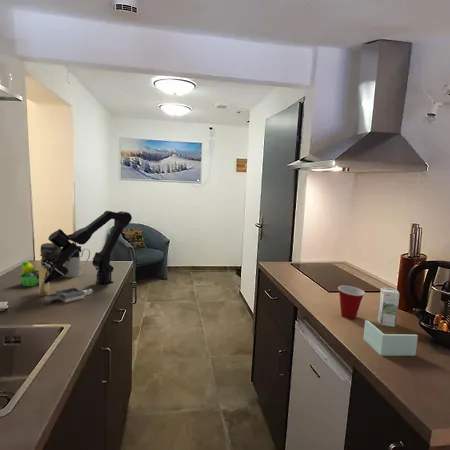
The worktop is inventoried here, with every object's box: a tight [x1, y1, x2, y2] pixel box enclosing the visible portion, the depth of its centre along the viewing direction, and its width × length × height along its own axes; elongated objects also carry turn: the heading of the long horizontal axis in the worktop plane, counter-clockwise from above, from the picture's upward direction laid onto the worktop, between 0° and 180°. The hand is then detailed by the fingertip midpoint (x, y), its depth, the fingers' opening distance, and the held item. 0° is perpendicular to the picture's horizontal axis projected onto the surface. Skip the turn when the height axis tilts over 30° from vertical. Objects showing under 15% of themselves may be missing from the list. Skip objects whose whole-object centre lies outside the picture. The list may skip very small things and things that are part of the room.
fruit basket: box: [19, 260, 39, 287], centre depth 171 cm, size 11×9×11 cm
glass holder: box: [63, 248, 91, 278], centre depth 190 cm, size 9×14×15 cm, turn 135°
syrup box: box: [377, 287, 400, 328], centre depth 137 cm, size 6×6×14 cm
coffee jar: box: [40, 242, 63, 279], centre depth 181 cm, size 10×8×19 cm
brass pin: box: [38, 265, 50, 297], centre depth 155 cm, size 4×4×13 cm
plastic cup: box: [337, 285, 366, 320], centre depth 144 cm, size 11×11×12 cm
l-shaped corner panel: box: [363, 319, 419, 357], centre depth 118 cm, size 12×12×8 cm
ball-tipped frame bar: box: [44, 286, 94, 305], centre depth 153 cm, size 21×9×3 cm, turn 141°
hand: (40, 280), depth 154 cm, fingers open, 9 cm apart
